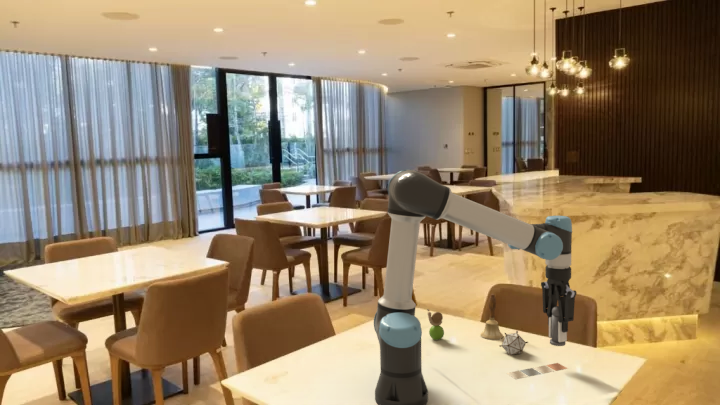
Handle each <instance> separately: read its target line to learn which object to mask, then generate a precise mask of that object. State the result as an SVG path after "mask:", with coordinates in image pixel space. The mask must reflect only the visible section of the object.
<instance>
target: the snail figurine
mask: <svg viewBox="0 0 720 405" xmlns="http://www.w3.org/2000/svg"><path fill="white" fill-rule="evenodd" d="M430 311H431V310H430V309H427V318H428V320H429V323H430V325H431V327H430V328H429V331H428V334H429V337H430V338H431V339H433V340H435V341H439V340H441V339H442V338H444V335H445V331H444V328H443V327H442V326H441V325H442V324H443V317H444V316H443V313H442V312H440V311H436V312H434V313H433V314H432V312H430Z"/></svg>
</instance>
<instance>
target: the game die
mask: <svg viewBox="0 0 720 405" xmlns="http://www.w3.org/2000/svg"><path fill="white" fill-rule="evenodd" d="M518 333H519V331H518V330H516V331H515V332H514V333H508V334H507V333H506V332H504V335H505V336H504V337H503V341H502V343H501V345H500V344H499V347H502V348H503V350H504V351H505V352H506V353H508V355H510V356H512V355H519V354H522V353H523V351H524V348H525V346H526V344H528V343H529V341H526V340H525V339H524V338H523V337H521V336H520V334H518Z"/></svg>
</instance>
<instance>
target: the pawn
mask: <svg viewBox="0 0 720 405" xmlns="http://www.w3.org/2000/svg"><path fill="white" fill-rule="evenodd" d="M558 320H560V314H559V305H557V306H555V307H554V308H553V309H552V338H549V339H550V340H549V344H550V345H551V346H555V347H563V346H566V341H565V342H558Z"/></svg>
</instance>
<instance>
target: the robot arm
mask: <svg viewBox="0 0 720 405" xmlns="http://www.w3.org/2000/svg"><path fill="white" fill-rule="evenodd" d="M387 194H388V205H387V215H388V216H389V217H390V218H391V223H390V230H389V231H390V232H389V240H388V241H389V243H388V251H387V260H386V271H385V278H384V286H383V287H384V289H383V295H381V297H379V299H378V300H377V307H376V312H375V314H374V318H373V327H374V328H373V329H374V332H375V334H376V336H377V337H376V338H377V340H378V344H379V352H380V353H379V354H380V356H379V358H380V359H379V360H380V362H379V363H380V374H379V377H378V379H377V383H376V386H375V390H374V401H375V402H376V403H377V405H426V404H427V403H428V402H429V401H428V400H429V390H428V388H427V385H426V381H425V379H424V375H423V372H422V370H423V369H422V334H423V331H422V330H423V329H422V327H421V321H420V320H419V318H418V317H416V303H415V302H414V300H413V298H412V296H413V288H414V287H413V286H414V278H415V270H416V261H417V252H418V243H419V242H418V241H419V233H420V224H421V222H422V220H424V219H425V218H427V217H428V218H431V219H433V220H436V221H437V220H440V219H444V220H446V221H449V222H451V223H453V224H456V225H459V226H461V227H464V228H465V229H469V230H471V231H474V232H476V233H479V234H482V235H484V236H486V237H489V238H492V239H495V240H496V241H498V242H501V243H505V244H507V246H508V248H509V249H511V250H522V251H524V252H527V253H529V254H532V255H534V256H537V257H538V258H540V259H542V260H544V263H545V265H546V266H545V278H546V279H547V280H546V281H541V282H540V286H541V290H542V312H543V313H544V314H546V316H547V325H548V338H549V339H552V309H553V308H554V307H555V306H559V314H560V320H558V342H565V343H566V342H567V341H568V337H567V336H568V332H569V322H573V321H574V317H575V316H574V315H575V304H576V300H575V299H576V296H577V291H576V290H575V289H574V290H573V289H572V288H571V286H570V280H571V279H572V267H571V266H572V244H573V243H572V242H573V241H572V239H573V237H572V235H573V224H572V219H571V218H570V217H569V216H566V215H548V216H547V217H545V221H544V222H542V223H528V222H525V221H524V220H521V219H518V218H516V217H513V216H510V215H508V214H506V213H503V212H500V211H498V210H496V209H493V208H491V207H489V206H485V205H483V204H481V203H478V202H475V201H473V200H470V199H468V198H467V197H464V196H461V195H459V194H455V193H453V191H452V189H451V187H448V186H446V185H443V184H442V183H440V182H438V181H436V180H434V179H433V178H431V177H429V176H428V175H426V174H424V173H423V172H420V171H418V170H413V169H404V170H400V171H398V172H396V173H395V174H394V175H393V176H392V177H391V178H390V180H389V181H388V184H387Z"/></svg>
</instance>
